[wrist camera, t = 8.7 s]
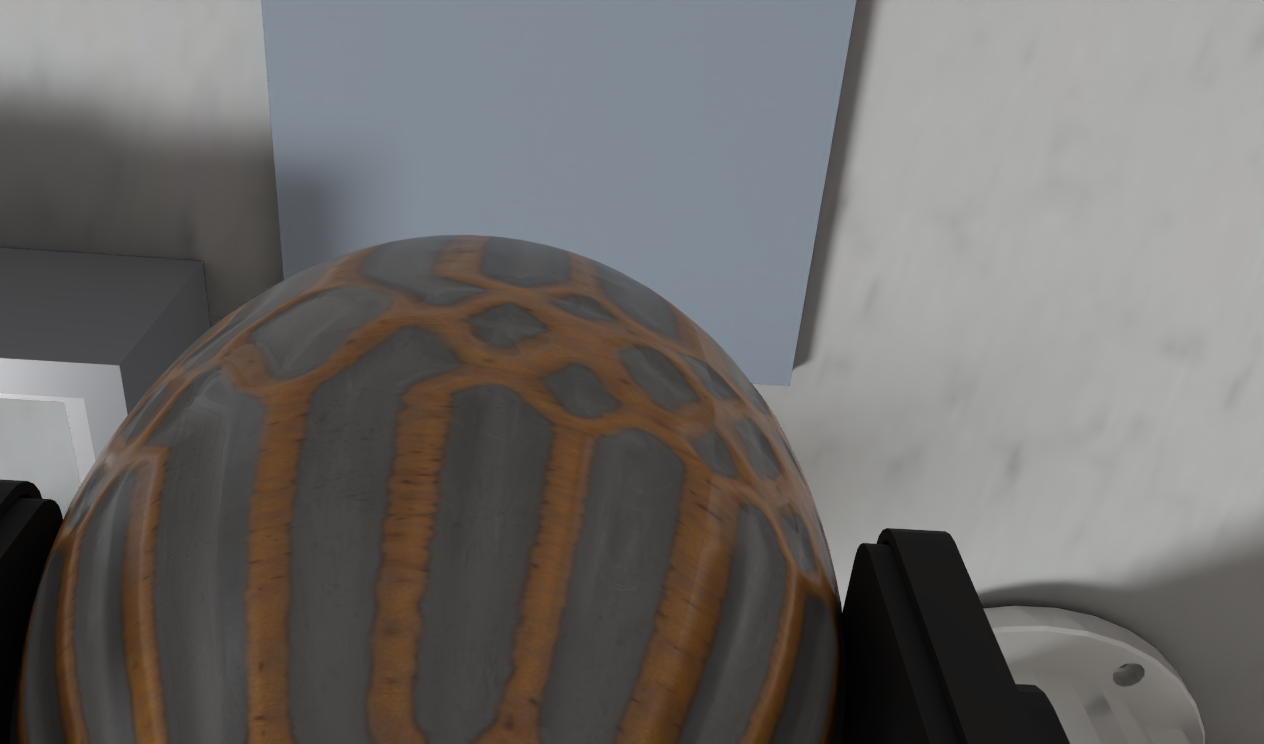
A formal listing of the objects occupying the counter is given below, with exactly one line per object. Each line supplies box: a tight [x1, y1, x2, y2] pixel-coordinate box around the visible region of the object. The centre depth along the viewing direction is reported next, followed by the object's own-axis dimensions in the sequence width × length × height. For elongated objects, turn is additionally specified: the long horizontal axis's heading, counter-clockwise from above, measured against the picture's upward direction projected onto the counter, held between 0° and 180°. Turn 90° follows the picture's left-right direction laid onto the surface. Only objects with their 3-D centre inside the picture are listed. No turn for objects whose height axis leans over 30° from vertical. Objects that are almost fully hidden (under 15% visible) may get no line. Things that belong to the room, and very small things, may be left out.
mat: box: [261, 0, 856, 386], centre depth 24 cm, size 12×12×1 cm
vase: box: [10, 235, 846, 744], centre depth 10 cm, size 7×7×9 cm
